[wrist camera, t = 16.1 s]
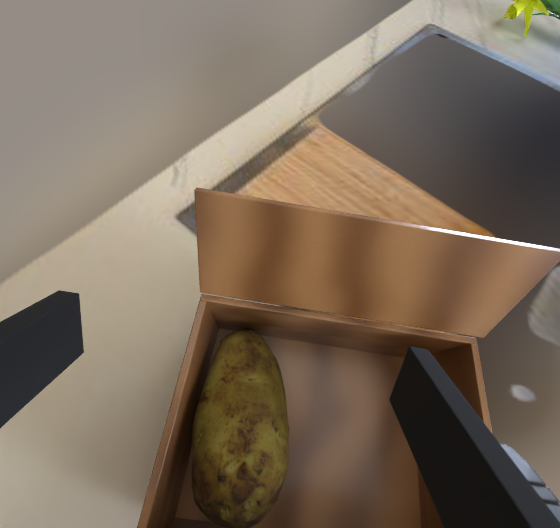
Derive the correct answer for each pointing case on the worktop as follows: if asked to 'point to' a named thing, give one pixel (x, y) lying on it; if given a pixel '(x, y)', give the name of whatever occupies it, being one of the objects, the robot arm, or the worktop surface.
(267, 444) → the potato
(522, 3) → the daffodil flowers
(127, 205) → the worktop surface
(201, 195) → the flap
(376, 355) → the wooden box
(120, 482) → the worktop surface
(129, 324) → the worktop surface
